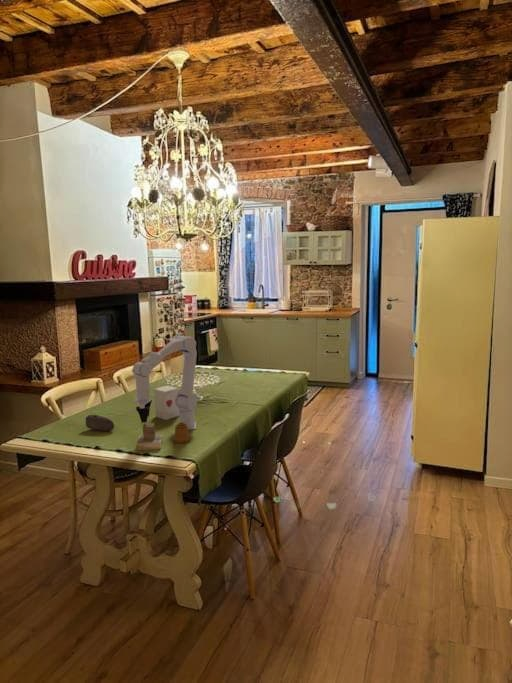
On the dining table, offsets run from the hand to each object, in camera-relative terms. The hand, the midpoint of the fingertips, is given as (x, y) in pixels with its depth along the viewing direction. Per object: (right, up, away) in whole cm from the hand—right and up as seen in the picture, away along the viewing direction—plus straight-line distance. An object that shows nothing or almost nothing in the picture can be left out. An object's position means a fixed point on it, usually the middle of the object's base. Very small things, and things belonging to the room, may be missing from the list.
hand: (145, 419), depth 214 cm
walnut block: (+3, -8, -3) cm, 9 cm away
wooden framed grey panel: (+3, -11, -3) cm, 11 cm away
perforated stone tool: (-25, -8, +18) cm, 32 cm away
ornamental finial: (+16, -10, +2) cm, 19 cm away
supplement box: (+3, -4, +36) cm, 36 cm away
